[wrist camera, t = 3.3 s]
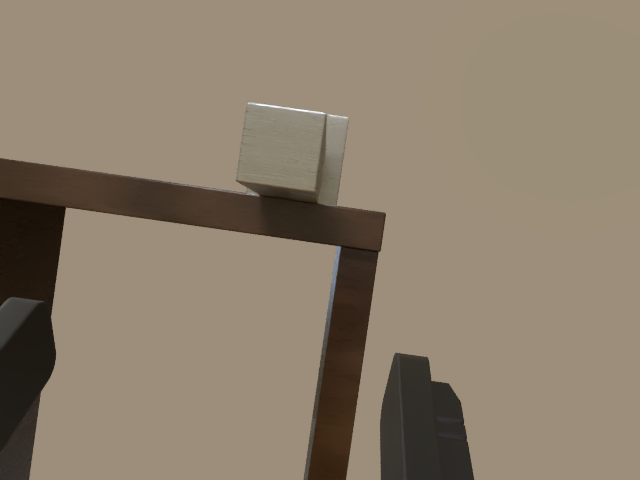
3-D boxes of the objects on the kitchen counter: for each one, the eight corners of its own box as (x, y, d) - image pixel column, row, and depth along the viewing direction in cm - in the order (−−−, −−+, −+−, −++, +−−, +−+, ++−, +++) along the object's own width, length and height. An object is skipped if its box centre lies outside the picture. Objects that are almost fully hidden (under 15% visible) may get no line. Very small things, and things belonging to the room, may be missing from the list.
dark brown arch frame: (303, 682, 40) (370, 217, 40) (297, 830, 30) (386, 212, 30) (-15, 635, 41) (47, 171, 40) (-126, 768, 31) (-44, 151, 30)
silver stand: (334, 211, 38) (345, 133, 38) (342, 196, 22) (361, 62, 22) (257, 200, 38) (267, 122, 38) (208, 177, 22) (227, 43, 22)
